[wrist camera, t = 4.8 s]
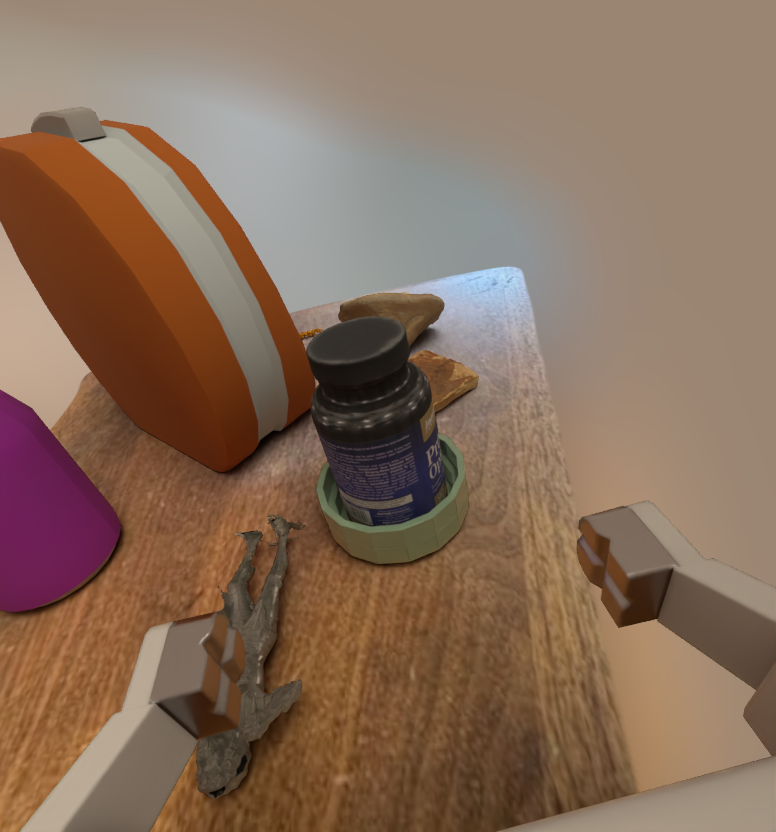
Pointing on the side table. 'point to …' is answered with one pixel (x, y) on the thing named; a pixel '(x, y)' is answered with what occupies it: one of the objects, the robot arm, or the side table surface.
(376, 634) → the side table surface
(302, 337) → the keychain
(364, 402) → the pill bottle
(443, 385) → the shard
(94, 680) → the side table surface
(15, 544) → the beverage can
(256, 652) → the figurine
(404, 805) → the side table surface
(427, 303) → the fossil
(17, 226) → the alarm clock
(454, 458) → the bowl
